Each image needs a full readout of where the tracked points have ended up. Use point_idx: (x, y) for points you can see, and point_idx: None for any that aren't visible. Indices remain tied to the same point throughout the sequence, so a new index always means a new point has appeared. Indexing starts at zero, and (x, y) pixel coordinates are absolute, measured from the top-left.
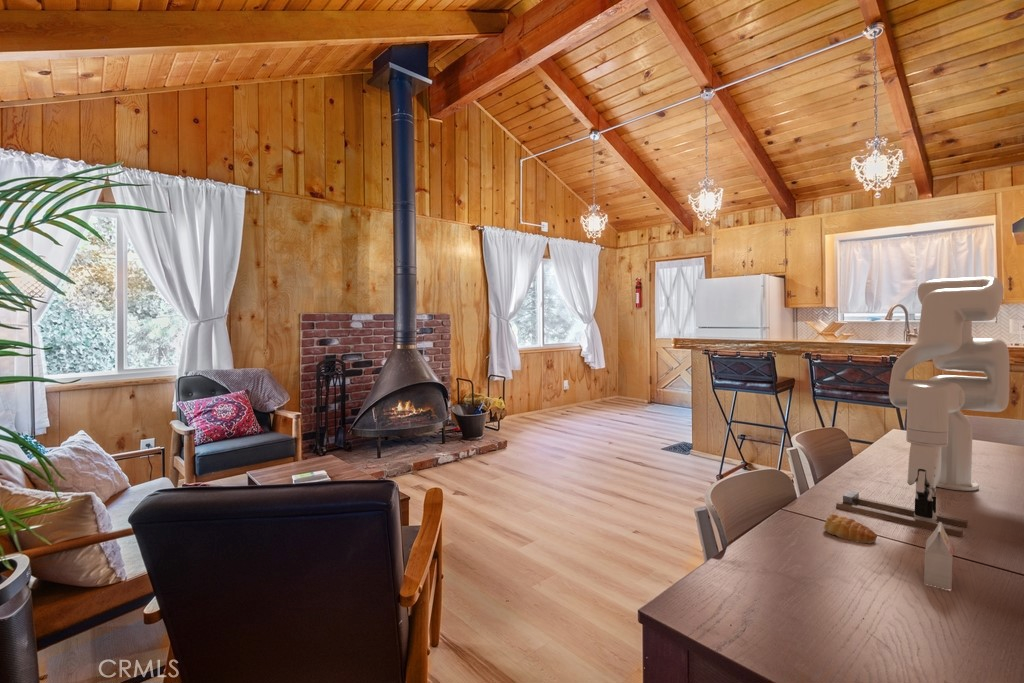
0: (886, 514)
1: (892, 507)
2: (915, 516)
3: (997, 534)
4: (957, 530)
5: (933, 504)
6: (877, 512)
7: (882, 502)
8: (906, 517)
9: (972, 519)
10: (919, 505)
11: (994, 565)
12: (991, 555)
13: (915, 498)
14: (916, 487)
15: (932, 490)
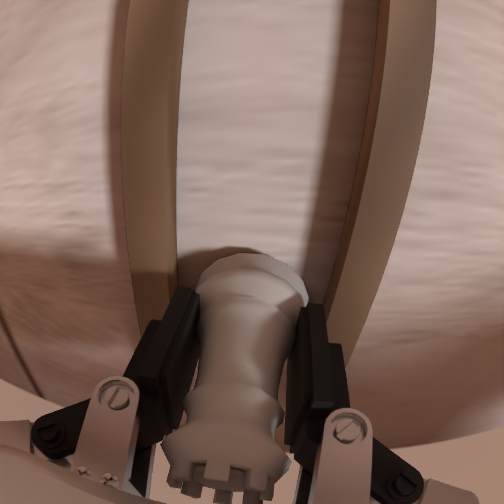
0: (122, 124)
1: (371, 136)
2: (214, 275)
3: (281, 436)
4: None
5: (287, 403)
6: (123, 69)
7: (429, 74)
8: (155, 233)
9: (409, 402)
10: (135, 356)
11: (38, 383)
12: (84, 396)
13: (139, 375)
14: (73, 466)
15: (217, 499)
